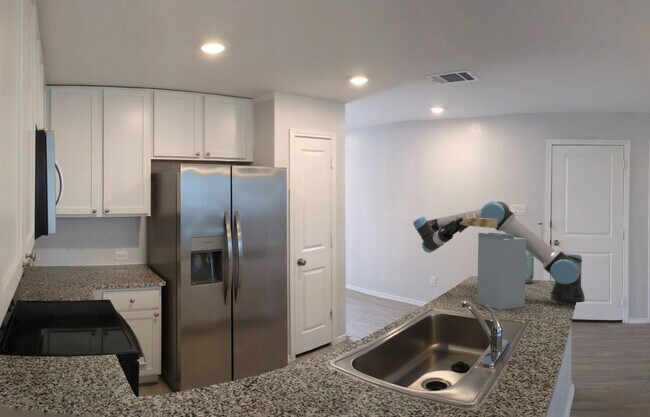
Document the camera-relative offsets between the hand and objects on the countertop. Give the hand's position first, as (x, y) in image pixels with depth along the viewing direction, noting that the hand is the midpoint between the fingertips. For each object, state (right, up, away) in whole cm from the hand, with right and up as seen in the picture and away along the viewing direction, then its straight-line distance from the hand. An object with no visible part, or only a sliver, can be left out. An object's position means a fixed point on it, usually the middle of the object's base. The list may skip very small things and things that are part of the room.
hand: (471, 216), depth 233 cm
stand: (+11, -42, -10) cm, 45 cm away
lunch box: (+39, -41, +51) cm, 76 cm away
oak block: (+1, -5, -3) cm, 6 cm away
